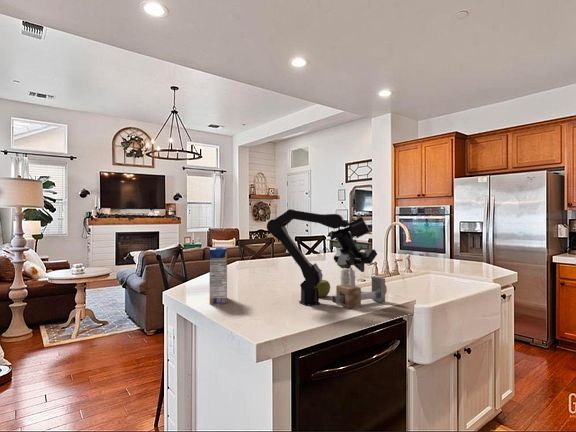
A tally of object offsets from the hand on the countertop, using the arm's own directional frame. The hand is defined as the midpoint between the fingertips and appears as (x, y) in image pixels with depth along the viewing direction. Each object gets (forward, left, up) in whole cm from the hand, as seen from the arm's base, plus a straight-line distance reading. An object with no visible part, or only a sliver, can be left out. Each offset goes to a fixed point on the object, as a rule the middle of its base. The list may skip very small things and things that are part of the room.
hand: (363, 271), depth 147 cm
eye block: (-9, -3, -13) cm, 16 cm away
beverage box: (-53, +28, -13) cm, 62 cm away
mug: (+7, +19, -13) cm, 24 cm away
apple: (-10, +16, -13) cm, 23 cm away
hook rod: (-4, -3, -12) cm, 13 cm away
